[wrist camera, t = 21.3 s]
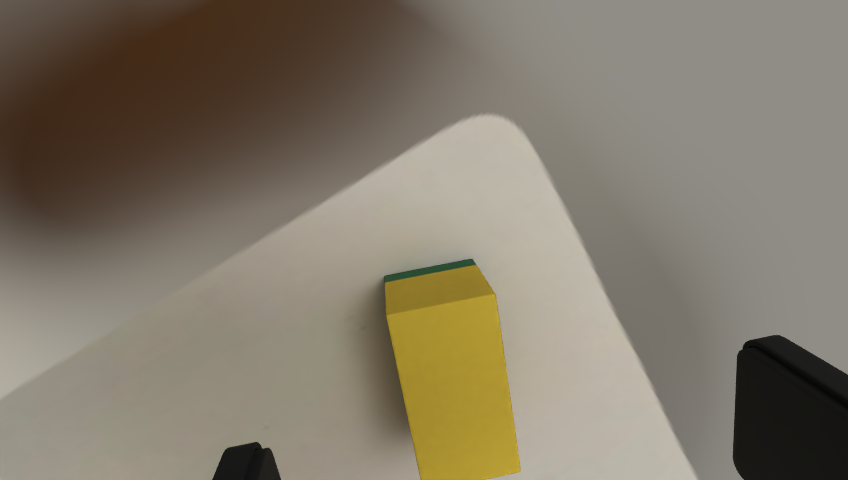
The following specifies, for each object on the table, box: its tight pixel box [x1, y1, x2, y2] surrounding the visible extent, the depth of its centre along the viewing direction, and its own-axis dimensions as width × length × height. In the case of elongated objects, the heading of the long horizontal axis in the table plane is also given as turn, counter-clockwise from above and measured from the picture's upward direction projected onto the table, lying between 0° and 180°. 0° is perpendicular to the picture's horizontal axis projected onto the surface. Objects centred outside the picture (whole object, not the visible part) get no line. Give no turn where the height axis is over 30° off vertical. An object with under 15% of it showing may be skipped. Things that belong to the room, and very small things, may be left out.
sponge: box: [384, 259, 521, 480], centre depth 23 cm, size 5×9×5 cm, turn 10°
